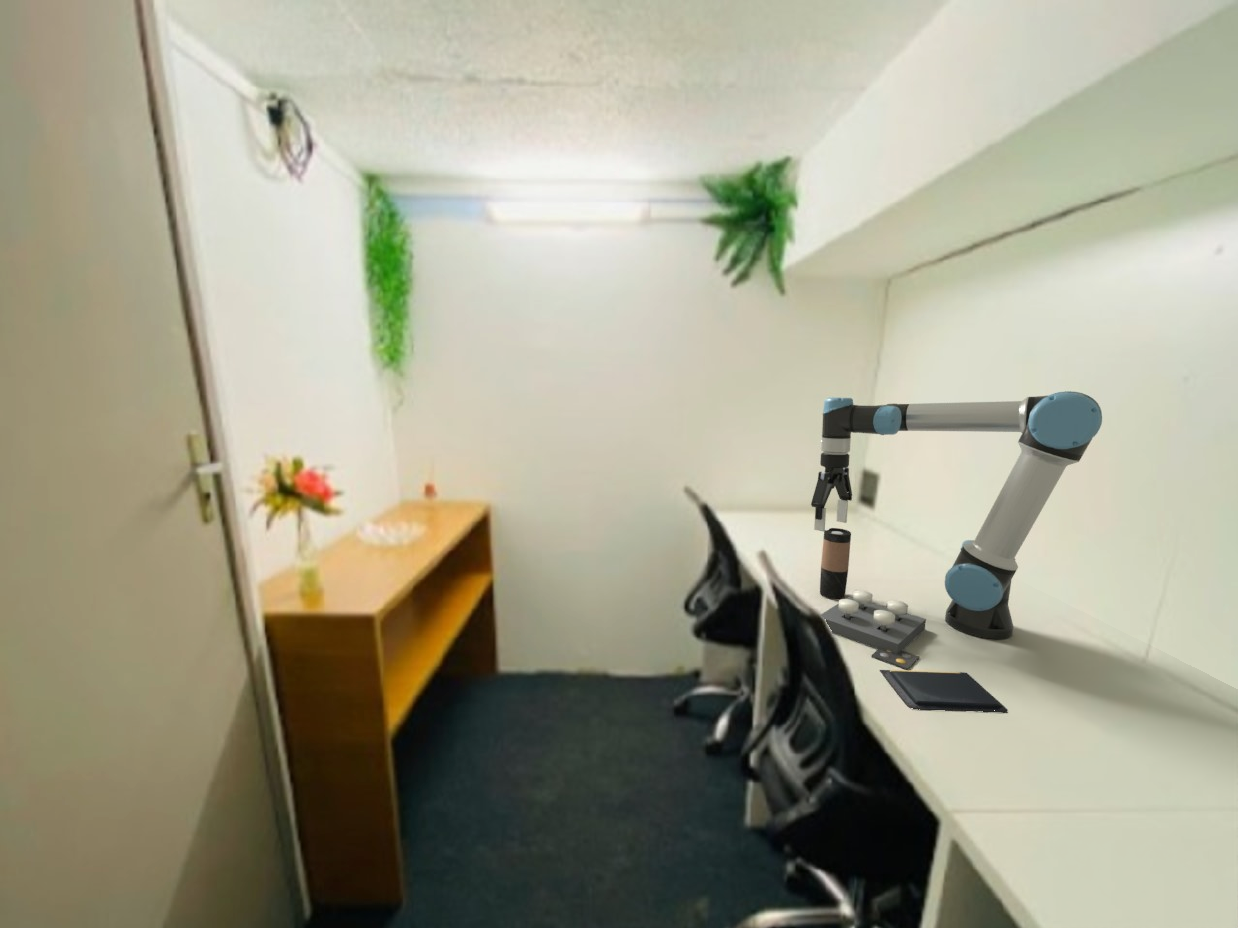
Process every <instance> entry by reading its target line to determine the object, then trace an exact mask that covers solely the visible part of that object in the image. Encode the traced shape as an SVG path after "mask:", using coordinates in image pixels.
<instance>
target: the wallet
mask: <svg viewBox="0 0 1238 928" xmlns="http://www.w3.org/2000/svg"><path fill="white" fill-rule="evenodd" d="M879 672H880V673H881V674H882V676H883V678H884V679H885V681H886V682H887V683H888V684H889V685H890V686H891V688H892V689H893V690H894V692H895V693H896V695H897V696H898V697H899V698H900V699H901V700H902V702H903V703H904V704H905V705H906V706H907V707H908V708H909V709H911V708H913V709H918V710H917V711H931V710H945V711H944V712H966V711H983V712H982V713H988V712H1003V713H1002V714H1008V712H1007V711H1008V709H1007V708H1006V707H1005V705H1003V704H1002V703H1001V702H1000V701H999V700H998V699H997V698H996V697H994V696H993V695H992V694H991V692H988V691H987V690H986V688H984V687H983V686H982V685H981V683H979V682H978V681H977V680H975V678H974V677H972V676H971V675H970V674H969V673H968V672H964V671H963V672H961V671H959V672H958V671H938V670H937V671H936V670H935V671H934V670H933V671H932V670H910V669H908V670H905V669H903V670H902V669H879ZM919 709H920V710H919ZM994 710H995V711H994Z"/></svg>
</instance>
